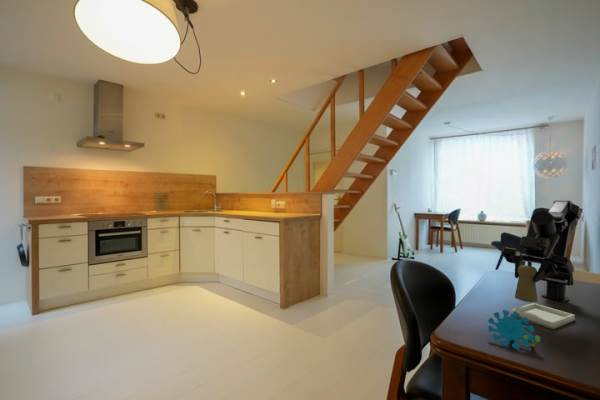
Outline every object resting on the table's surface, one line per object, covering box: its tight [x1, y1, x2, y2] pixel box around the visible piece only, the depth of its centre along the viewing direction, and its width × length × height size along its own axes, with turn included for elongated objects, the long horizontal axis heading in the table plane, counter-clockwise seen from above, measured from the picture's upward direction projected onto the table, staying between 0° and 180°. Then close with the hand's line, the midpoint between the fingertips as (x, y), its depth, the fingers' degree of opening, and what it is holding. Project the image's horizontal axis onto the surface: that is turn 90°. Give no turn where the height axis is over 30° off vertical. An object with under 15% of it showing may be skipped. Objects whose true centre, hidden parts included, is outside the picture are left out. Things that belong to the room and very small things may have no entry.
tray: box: [510, 302, 576, 330], centre depth 93 cm, size 14×11×2 cm
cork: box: [514, 264, 539, 303], centre depth 96 cm, size 6×6×11 cm
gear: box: [487, 309, 541, 350], centre depth 77 cm, size 11×6×10 cm
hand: (524, 279), depth 95 cm, fingers closed on cork, 5 cm apart
